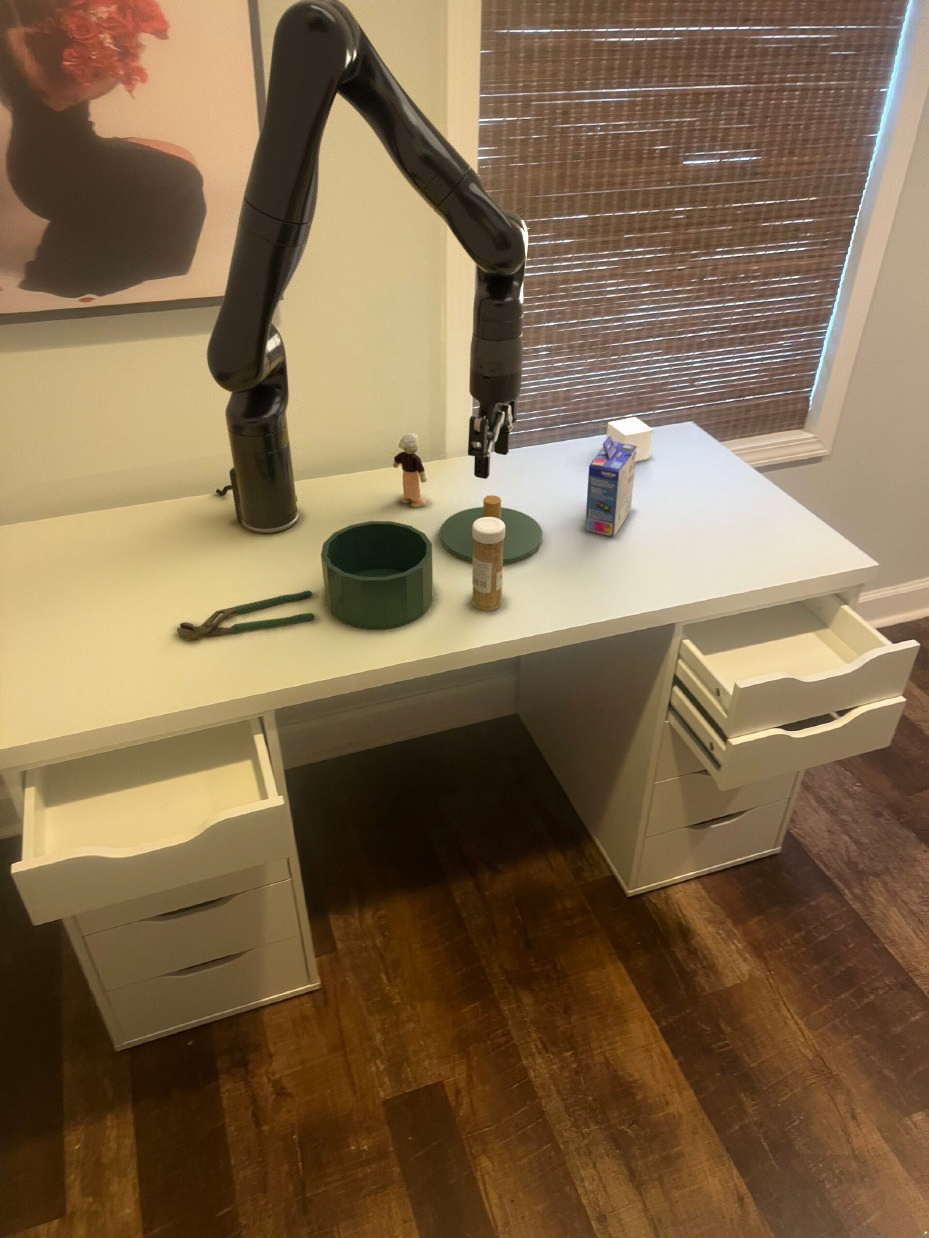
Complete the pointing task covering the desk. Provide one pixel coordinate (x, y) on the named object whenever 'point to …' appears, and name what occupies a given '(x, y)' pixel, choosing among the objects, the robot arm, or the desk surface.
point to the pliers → (213, 629)
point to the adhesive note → (632, 435)
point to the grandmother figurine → (411, 470)
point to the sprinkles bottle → (487, 562)
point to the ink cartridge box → (610, 487)
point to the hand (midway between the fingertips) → (491, 465)
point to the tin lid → (519, 530)
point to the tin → (378, 574)
